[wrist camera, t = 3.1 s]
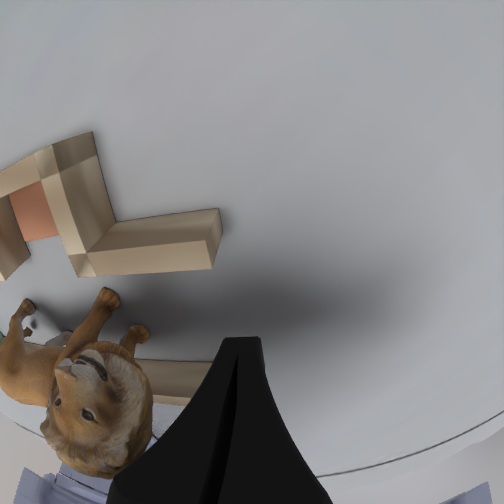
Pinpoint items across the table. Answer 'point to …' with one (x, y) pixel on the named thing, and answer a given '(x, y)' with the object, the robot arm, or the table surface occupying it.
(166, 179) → the table surface
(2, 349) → the lion figurine
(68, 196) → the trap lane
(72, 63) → the table surface
